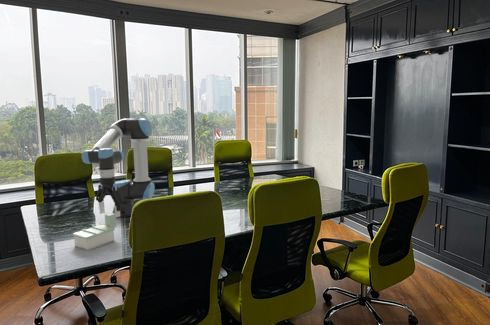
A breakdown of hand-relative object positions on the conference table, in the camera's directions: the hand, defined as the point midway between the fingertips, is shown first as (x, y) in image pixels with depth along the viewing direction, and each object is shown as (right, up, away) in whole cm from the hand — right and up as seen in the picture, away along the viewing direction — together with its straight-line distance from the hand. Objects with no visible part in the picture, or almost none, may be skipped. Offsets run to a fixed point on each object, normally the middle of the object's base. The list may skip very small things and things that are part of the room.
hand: (109, 215), depth 203 cm
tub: (-6, -14, -6) cm, 17 cm away
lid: (-5, -8, -6) cm, 11 cm away
